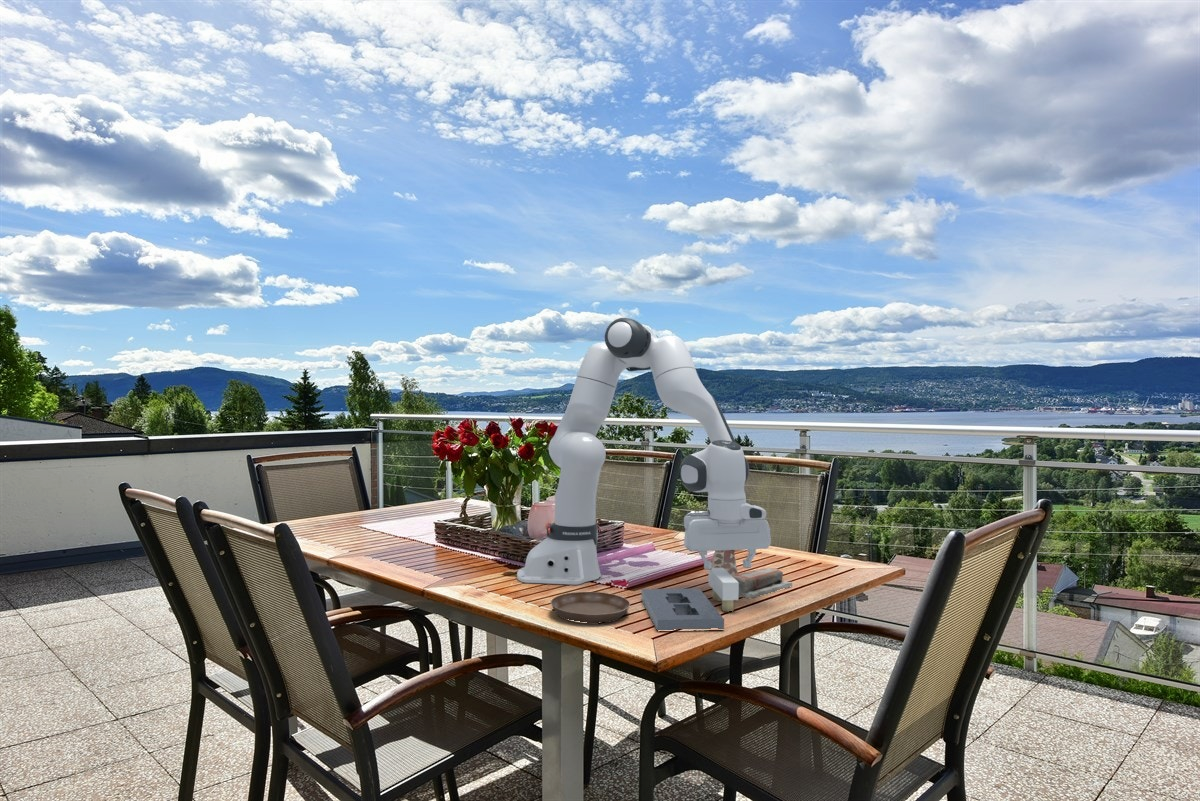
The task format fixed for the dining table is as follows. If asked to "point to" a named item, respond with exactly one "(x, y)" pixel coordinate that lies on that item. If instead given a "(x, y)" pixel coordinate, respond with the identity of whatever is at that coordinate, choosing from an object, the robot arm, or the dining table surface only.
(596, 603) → the plant saucer
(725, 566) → the figurine
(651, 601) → the keyhole plate
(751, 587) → the packaged product
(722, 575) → the white pronged plug block
